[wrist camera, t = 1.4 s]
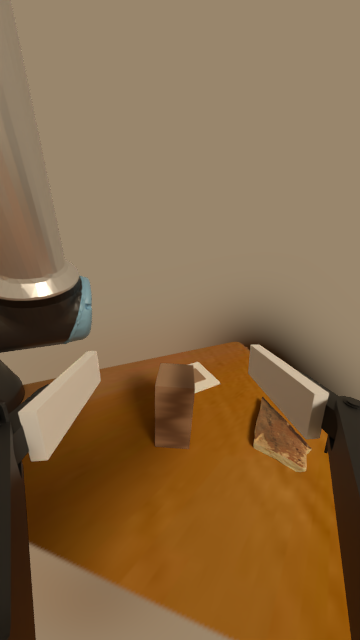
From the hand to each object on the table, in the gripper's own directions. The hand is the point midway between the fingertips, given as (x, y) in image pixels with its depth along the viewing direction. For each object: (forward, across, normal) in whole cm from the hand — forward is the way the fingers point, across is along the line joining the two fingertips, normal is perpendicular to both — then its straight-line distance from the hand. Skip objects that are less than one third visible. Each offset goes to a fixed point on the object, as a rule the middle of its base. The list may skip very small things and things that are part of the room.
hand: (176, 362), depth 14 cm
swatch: (+22, +5, -16) cm, 28 cm away
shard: (+9, +15, -18) cm, 25 cm away
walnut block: (+9, 0, -17) cm, 19 cm away
